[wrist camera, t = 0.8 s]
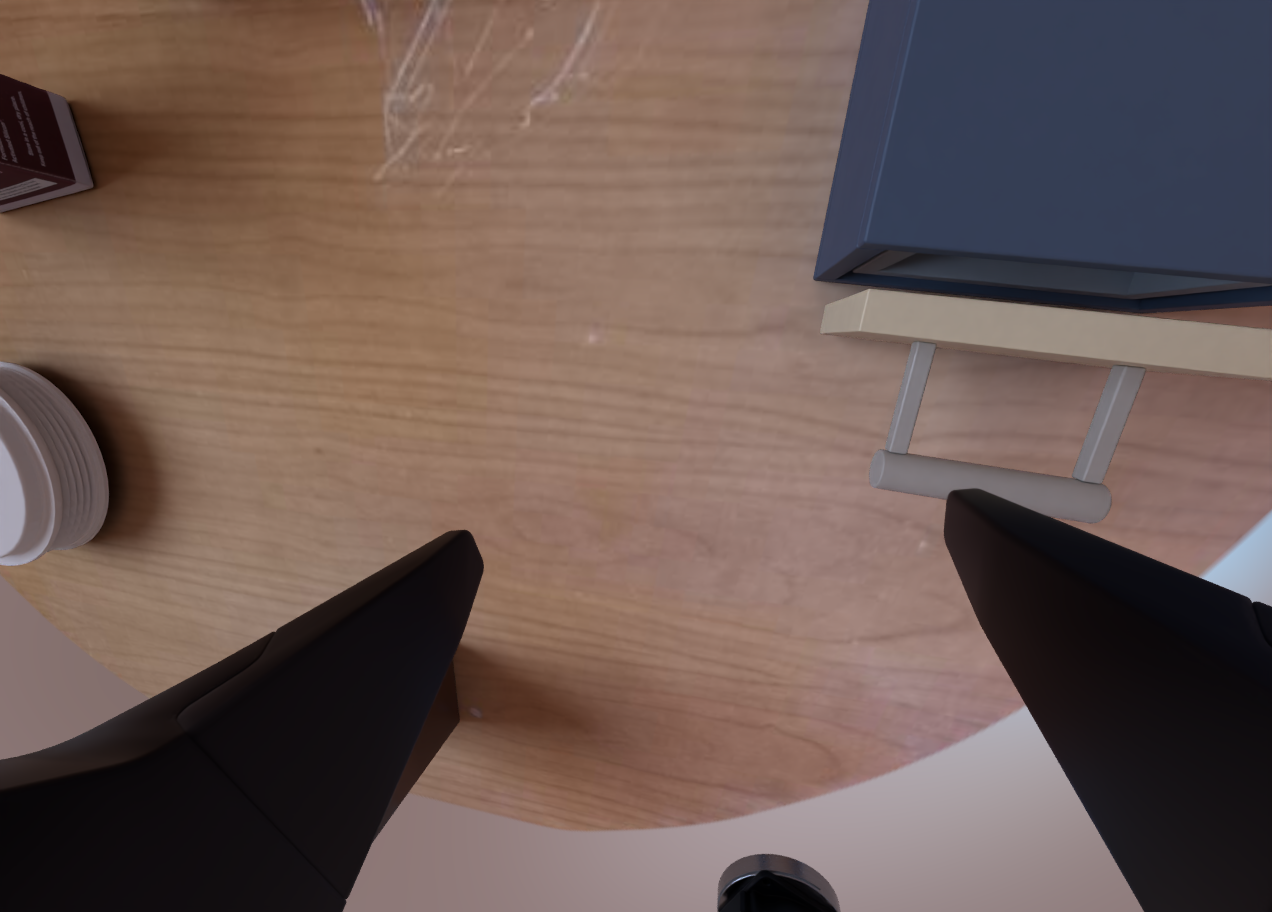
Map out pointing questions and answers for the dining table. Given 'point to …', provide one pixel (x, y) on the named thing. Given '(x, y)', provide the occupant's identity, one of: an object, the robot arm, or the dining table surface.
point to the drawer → (1036, 336)
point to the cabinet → (1060, 144)
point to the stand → (428, 741)
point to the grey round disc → (45, 470)
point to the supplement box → (37, 147)
